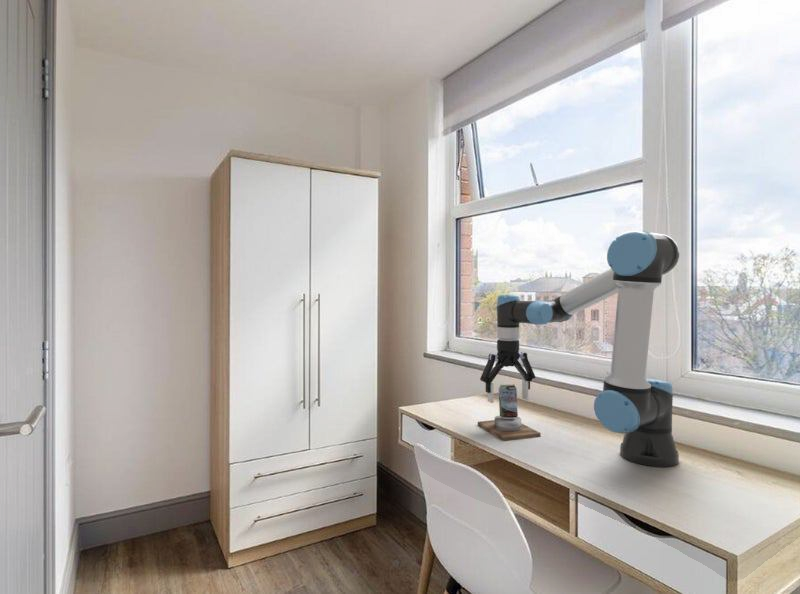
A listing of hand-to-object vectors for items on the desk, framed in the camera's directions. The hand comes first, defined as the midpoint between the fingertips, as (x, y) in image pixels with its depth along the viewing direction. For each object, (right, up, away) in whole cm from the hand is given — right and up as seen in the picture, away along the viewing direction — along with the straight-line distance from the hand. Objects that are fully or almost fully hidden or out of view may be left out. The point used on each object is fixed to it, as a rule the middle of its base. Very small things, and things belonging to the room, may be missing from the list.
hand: (508, 400), depth 163 cm
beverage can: (0, -6, 0) cm, 6 cm away
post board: (0, -10, 0) cm, 11 cm away
